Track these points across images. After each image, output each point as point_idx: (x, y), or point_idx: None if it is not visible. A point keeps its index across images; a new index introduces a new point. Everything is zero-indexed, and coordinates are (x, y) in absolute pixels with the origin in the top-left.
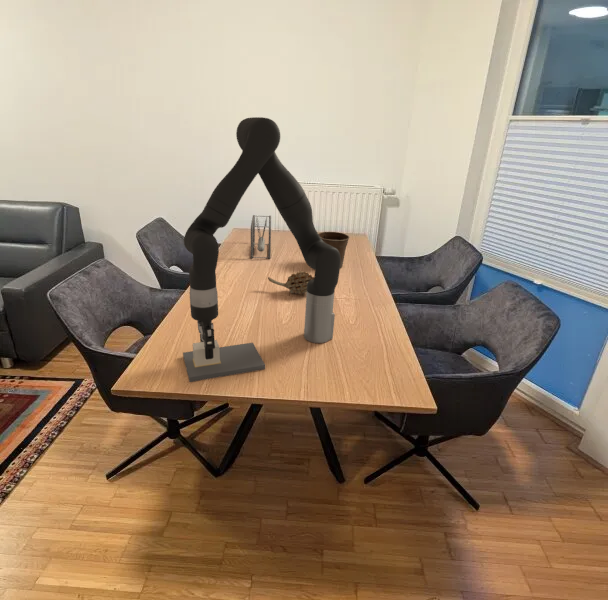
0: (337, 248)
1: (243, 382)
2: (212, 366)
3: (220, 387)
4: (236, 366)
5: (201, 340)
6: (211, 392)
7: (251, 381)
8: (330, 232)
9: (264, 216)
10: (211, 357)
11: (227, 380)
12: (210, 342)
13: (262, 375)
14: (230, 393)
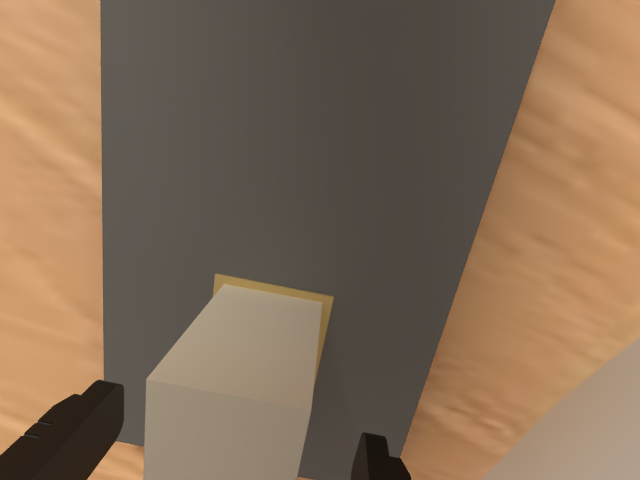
0: None
1: (577, 226)
2: (341, 357)
3: (527, 362)
4: (432, 216)
5: (88, 470)
6: (537, 414)
7: (607, 171)
8: None
9: None
10: (402, 471)
11: (489, 303)
12: (183, 450)
13: (600, 52)
14: (620, 340)
